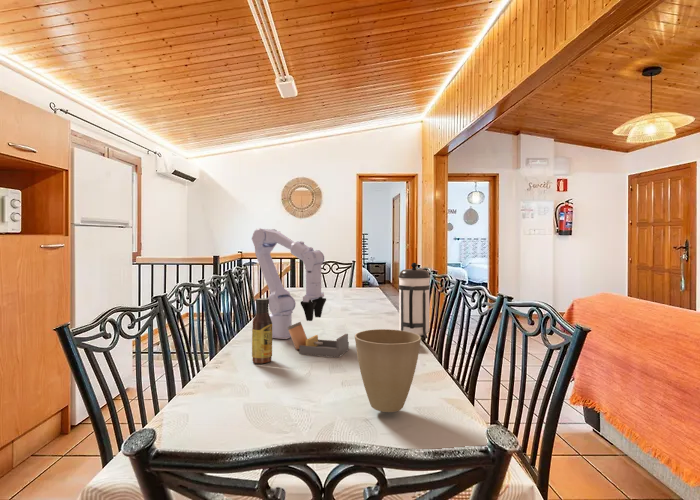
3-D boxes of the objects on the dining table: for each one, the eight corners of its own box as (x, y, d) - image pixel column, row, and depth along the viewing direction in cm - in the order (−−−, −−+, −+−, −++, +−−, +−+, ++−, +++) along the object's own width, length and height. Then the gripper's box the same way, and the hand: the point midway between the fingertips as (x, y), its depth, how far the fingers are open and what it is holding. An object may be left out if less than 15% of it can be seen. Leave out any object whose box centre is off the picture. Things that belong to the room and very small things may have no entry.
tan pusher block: (305, 350, 132) (305, 340, 132) (315, 344, 140) (315, 334, 140) (317, 351, 131) (317, 341, 131) (326, 345, 139) (326, 335, 139)
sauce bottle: (267, 365, 119) (267, 300, 119) (248, 364, 121) (248, 300, 121) (275, 359, 126) (275, 297, 126) (257, 358, 127) (257, 297, 127)
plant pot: (382, 426, 78) (381, 347, 78) (342, 402, 90) (342, 333, 90) (435, 409, 86) (435, 337, 86) (392, 389, 98) (392, 326, 98)
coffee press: (386, 334, 161) (386, 262, 161) (418, 331, 167) (418, 261, 167) (410, 344, 145) (410, 263, 145) (444, 339, 152) (444, 263, 152)
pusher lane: (299, 354, 132) (299, 336, 132) (312, 346, 142) (312, 330, 142) (337, 357, 127) (337, 340, 127) (348, 349, 137) (348, 333, 137)
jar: (293, 351, 136) (284, 328, 137) (299, 347, 140) (291, 325, 141) (305, 346, 134) (296, 323, 135) (311, 343, 139) (302, 320, 140)
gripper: (315, 284, 137) (315, 323, 137) (330, 281, 151) (331, 316, 151) (297, 284, 140) (297, 321, 140) (314, 280, 153) (314, 315, 154)
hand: (313, 318), depth 146 cm, fingers open, 7 cm apart
